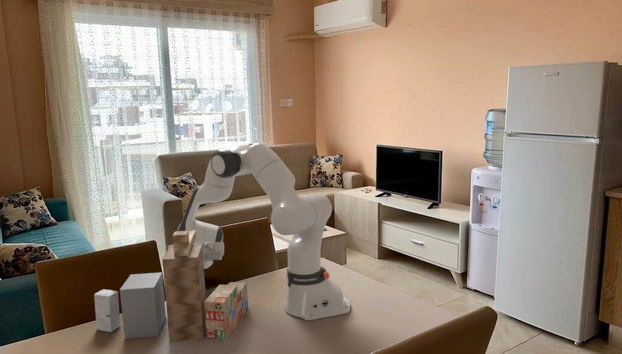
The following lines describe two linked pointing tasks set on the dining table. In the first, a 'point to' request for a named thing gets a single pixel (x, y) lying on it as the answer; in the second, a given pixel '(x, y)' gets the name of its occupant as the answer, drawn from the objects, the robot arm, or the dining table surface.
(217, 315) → the stack of blocks
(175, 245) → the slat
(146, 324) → the pale grey upright box
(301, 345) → the dining table surface
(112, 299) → the skincare box
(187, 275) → the tall stand
